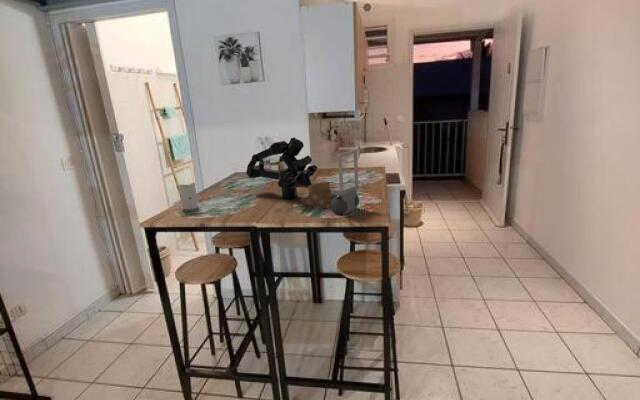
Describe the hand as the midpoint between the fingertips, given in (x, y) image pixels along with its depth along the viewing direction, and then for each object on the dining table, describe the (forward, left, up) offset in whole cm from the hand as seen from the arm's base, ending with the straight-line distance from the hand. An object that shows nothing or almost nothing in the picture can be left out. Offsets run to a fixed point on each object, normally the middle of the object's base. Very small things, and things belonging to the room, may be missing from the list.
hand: (311, 187), depth 158 cm
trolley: (+20, -10, -7) cm, 23 cm away
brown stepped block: (+6, -2, -7) cm, 9 cm away
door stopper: (-24, +29, -7) cm, 38 cm away
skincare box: (-53, -22, -7) cm, 58 cm away
